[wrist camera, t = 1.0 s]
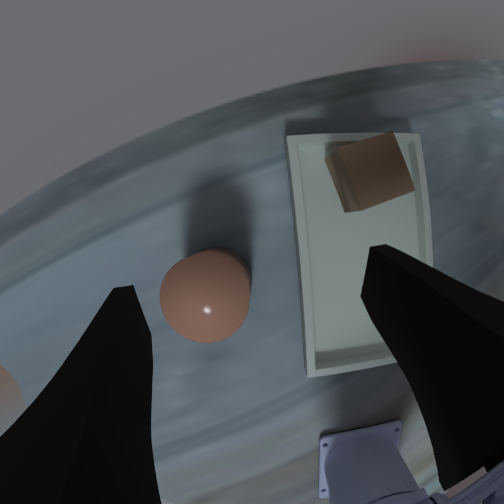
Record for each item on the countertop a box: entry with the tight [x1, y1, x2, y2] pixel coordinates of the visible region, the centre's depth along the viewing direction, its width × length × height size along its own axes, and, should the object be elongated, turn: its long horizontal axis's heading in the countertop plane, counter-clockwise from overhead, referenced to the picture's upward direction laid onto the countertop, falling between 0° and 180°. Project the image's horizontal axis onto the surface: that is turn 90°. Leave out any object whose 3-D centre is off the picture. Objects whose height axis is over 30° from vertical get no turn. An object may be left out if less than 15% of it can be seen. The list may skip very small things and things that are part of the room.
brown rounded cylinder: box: [160, 247, 252, 343], centre depth 20 cm, size 5×5×6 cm
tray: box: [285, 133, 433, 378], centre depth 22 cm, size 17×10×2 cm, turn 6°
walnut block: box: [325, 131, 415, 213], centre depth 19 cm, size 4×4×4 cm
